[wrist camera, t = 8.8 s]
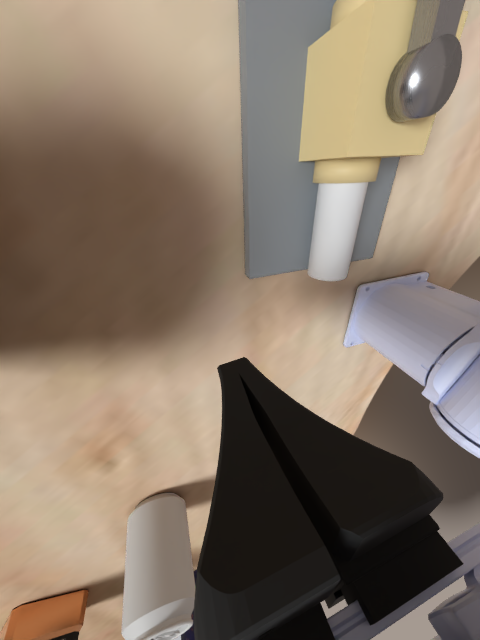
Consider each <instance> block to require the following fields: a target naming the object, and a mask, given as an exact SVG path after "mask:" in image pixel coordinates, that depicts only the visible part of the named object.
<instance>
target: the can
mask: <svg viewBox="0 0 480 640" xmlns="http://www.w3.org/2000/svg"><path fill="white" fill-rule="evenodd" d="M194 599H195V579H194V571H193V563H192V554H191V546H190V537H189V529H188V521H187V512H186V504H185V501H184V499H183V498H181V497H179V496H178V495H177V494H174V493H162V494H158V495H154V496H152V497H149V498H147V499H145V500H144V501H142V502H141V503H140V504H139V505H138V506H137V507H136V508H135V510H134V511H133V512H132V513H131V514H130V516H129V518H128V523H127V542H126V560H125V579H124V597H123V615H122V635H123V637H124V638H125V640H174V639H175V638H177V637H178V636H180V635H182V634H183V633H185V632H186V631H187V630H188V629H189V628H190V627H191V626H192V625H193V620H192V619H191V614H192V612H193V609H194Z"/></svg>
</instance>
